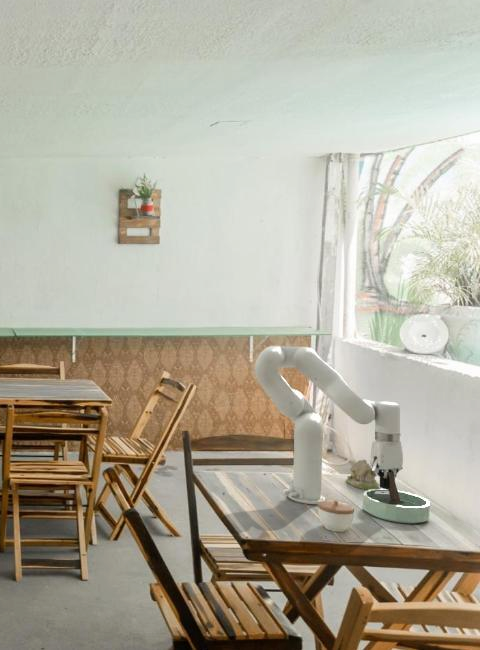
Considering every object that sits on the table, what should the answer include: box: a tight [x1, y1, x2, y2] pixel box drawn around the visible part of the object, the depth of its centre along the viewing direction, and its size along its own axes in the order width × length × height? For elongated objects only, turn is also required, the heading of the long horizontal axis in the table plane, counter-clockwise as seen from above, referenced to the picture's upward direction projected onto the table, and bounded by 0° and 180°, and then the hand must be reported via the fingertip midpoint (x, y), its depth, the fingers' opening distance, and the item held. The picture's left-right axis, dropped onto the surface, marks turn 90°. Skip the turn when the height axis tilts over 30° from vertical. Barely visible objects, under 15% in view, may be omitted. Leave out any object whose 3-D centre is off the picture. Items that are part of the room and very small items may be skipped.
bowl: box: [362, 488, 431, 524], centre depth 237 cm, size 20×20×6 cm
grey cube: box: [375, 491, 394, 505], centre depth 241 cm, size 5×5×5 cm
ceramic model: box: [346, 459, 380, 490], centre depth 271 cm, size 14×11×10 cm
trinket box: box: [317, 499, 355, 533], centre depth 223 cm, size 11×11×9 cm
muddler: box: [387, 472, 404, 504], centre depth 238 cm, size 4×4×11 cm
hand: (387, 487), depth 240 cm, fingers closed on muddler, 2 cm apart
